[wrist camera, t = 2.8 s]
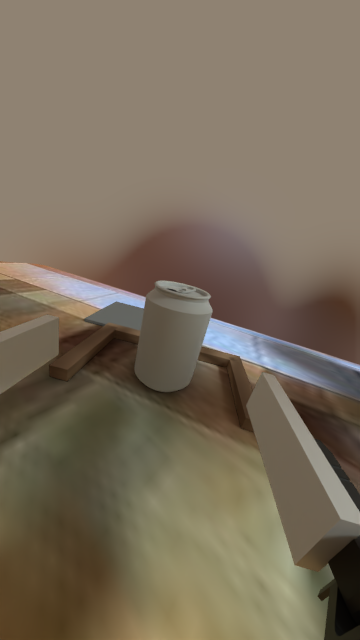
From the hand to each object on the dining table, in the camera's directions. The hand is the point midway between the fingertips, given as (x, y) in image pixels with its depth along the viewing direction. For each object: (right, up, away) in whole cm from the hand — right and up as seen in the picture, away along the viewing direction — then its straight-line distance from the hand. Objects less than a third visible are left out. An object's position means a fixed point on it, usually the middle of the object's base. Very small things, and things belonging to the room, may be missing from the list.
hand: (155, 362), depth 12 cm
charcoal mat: (-9, +3, +27) cm, 29 cm away
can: (-1, -5, +12) cm, 13 cm away
